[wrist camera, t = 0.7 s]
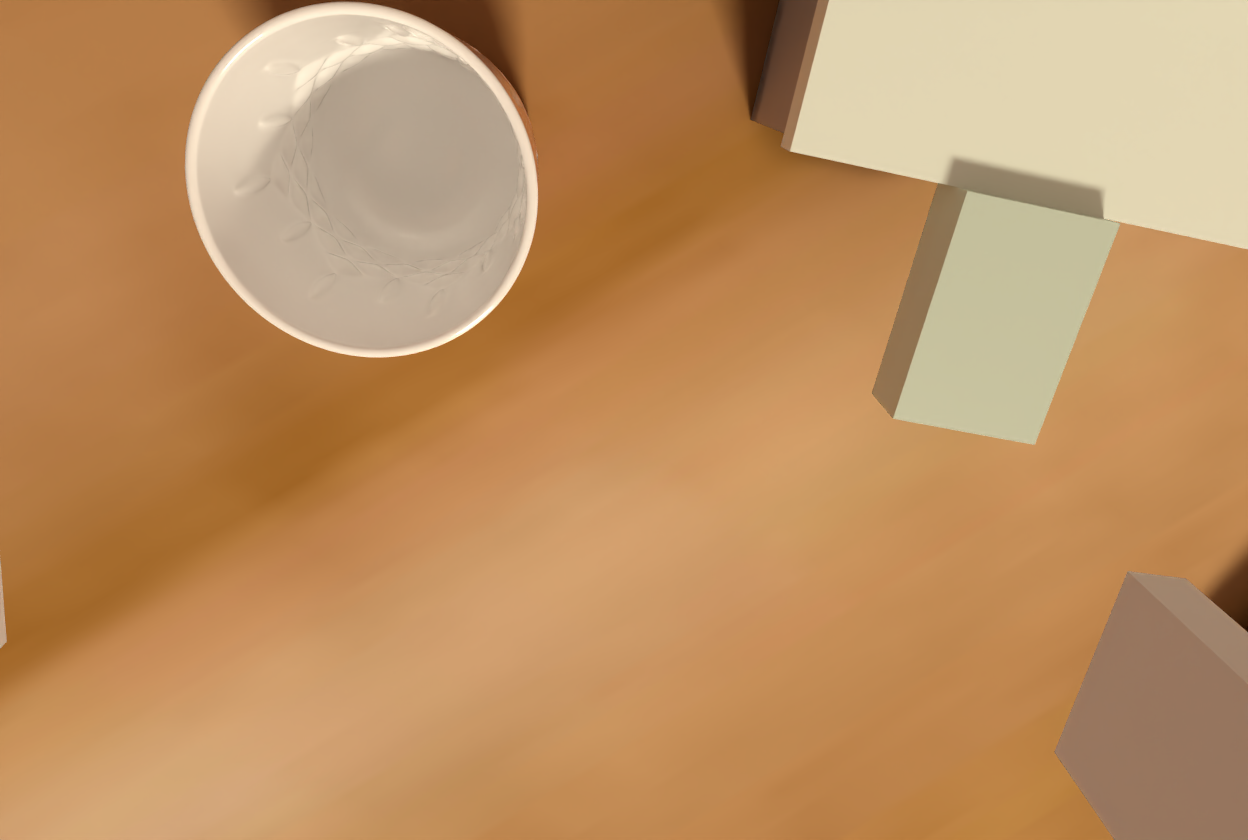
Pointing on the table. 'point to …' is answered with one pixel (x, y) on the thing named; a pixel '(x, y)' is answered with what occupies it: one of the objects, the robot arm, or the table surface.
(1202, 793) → the robot arm
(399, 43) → the white cup
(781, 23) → the tub
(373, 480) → the table surface
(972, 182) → the lid
